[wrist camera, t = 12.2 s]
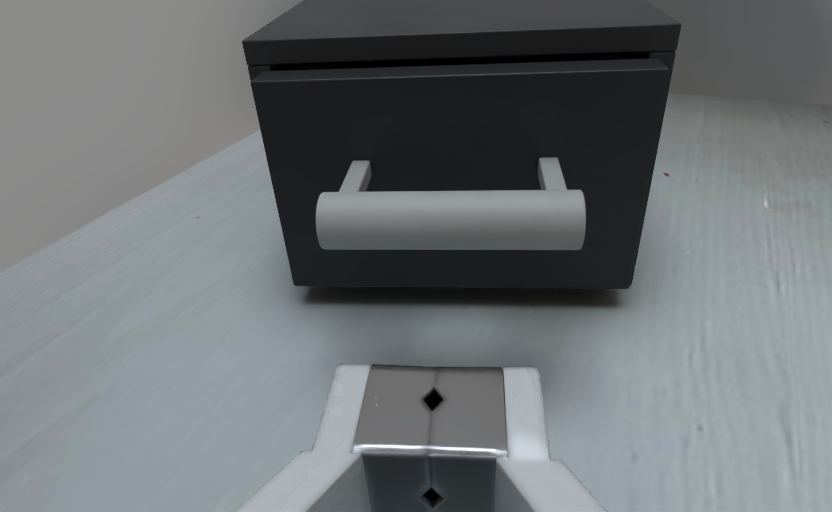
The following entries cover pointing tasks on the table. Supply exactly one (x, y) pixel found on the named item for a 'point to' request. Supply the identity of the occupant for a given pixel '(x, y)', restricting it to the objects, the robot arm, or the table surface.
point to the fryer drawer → (462, 169)
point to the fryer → (464, 35)
